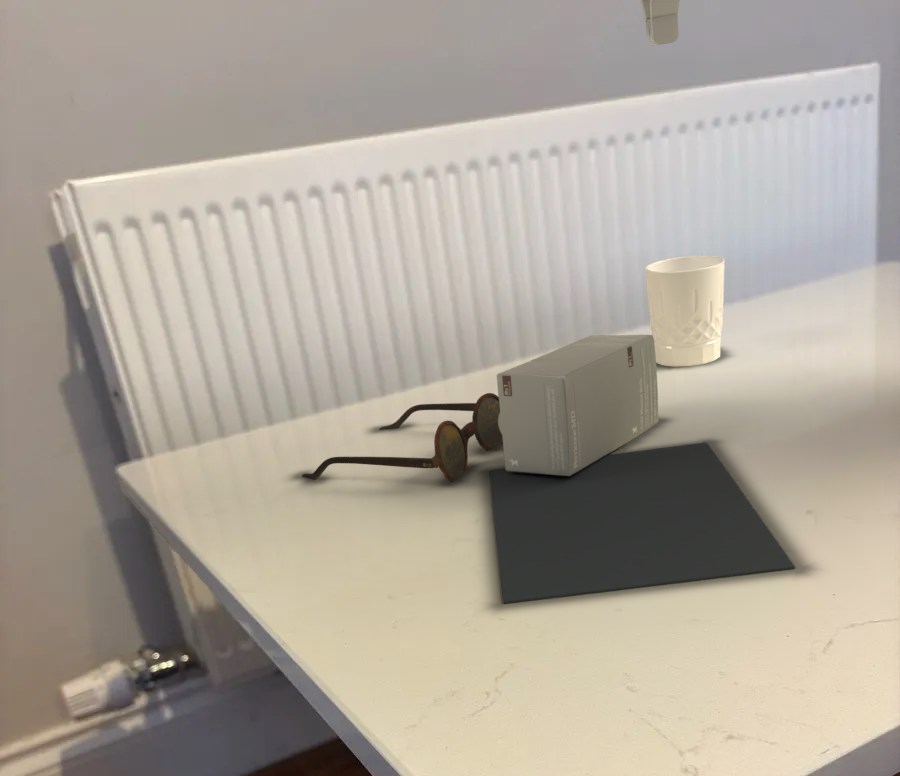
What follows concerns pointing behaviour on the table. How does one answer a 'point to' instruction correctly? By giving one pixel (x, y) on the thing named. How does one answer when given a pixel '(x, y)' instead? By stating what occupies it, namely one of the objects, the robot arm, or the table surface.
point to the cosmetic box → (577, 403)
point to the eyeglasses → (441, 439)
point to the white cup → (686, 309)
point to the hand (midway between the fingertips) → (662, 44)
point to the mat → (627, 526)
